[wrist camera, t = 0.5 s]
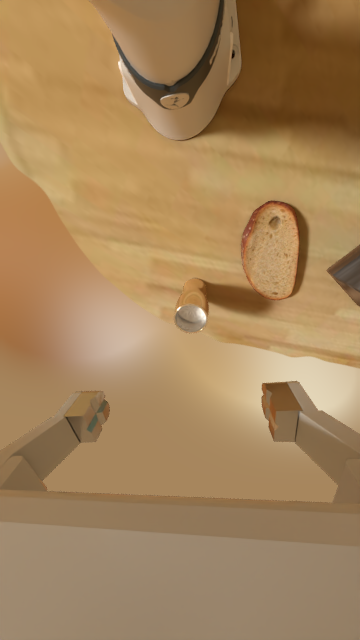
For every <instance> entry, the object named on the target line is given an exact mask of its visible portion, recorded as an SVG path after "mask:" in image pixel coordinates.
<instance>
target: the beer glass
mask: <svg viewBox="0 0 360 640" xmlns="http://www.w3.org/2000/svg"><path fill="white" fill-rule="evenodd" d="M206 292H207V288H206V285H205V283H204V282H203V281H202V280H200V279H195V278H194V279H190V280H188V281H187V282H186V283H185V284H184V286H183V293H182V294H181V296H180V297H179V299H178V301H177V303H176V307H175V313H174V322H175V325H176V326H177V327H178V328H179V329H180V330H181V331H183V332H186V333H197V332H200V331H201V330H203V329H204V328H205V327H206V325H207V322H208V315H209V304H208V301H207V298H206V296H205V295H206Z"/></svg>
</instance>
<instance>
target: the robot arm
mask: <svg viewBox="0 0 360 640" xmlns="http://www.w3.org/2000/svg"><path fill="white" fill-rule="evenodd" d="M89 1H90V2H91V3H92V4H93V6H94V7H95V8H96V9H97V11H98V12H99V14H100V15H101V17H102V18H103V20H104V21H105V23H106V24H107V26H108V28H109V29H110V31H111V32H112V35H113V38H114V41H115V44H116V47H117V50H118V52H119V55H120V61H119V63H118V64H119V69H120V71H121V74H122V76H123V89H124V94H125V96H126V98H127V99H128V101H129V102H130V103H132V104H133V105H134V106H136V107H137V108H139V109H140V110H141V111H142V112H143V113H144V115H145V116H146V118H147V119H148V121H149V122H150V124H151V125H152V126H153V127H154V128H155V129H156V130H157V131H158V132H159V133H160V134H162V135H163V136H165V137H167V138H170V139H173V140H185V139H189V138H191V137H193V136H195V135H197V134H198V133H200V132H201V131H202V130H203V129H204V128H205V127H206V126H207V125H208V124H209V123H210V121H211V120H212V118H213V117H214V115H215V113H216V111H217V109H218V107H219V105H220V102H221V100H222V98H223V96H224V94H225V92H226V91H227V90H228V89H229V88H230V87H231V85H232V84H233V83H234V82H235V81H236V79H237V78H238V76H239V74H240V71H241V63H242V61H241V50H240V39H239V29H238V19H237V8H236V0H89ZM232 53H234V55H235V57H234V58H233V59H231V58H232ZM262 391H263V394H264V395H263V396H262V408H263V412H264V415H265V418H266V419H267V420H268V421H269V429H270V432H271V435H272V437H273V440H274V441H277V442H278V441H279V442H295V443H296V444H297V445H298V446H299V447H300V448H301V449H302V450H303V451H304V452H305V453H306V454H307V455H308V456H309V457H310V458H311V459H312V460H313V461H314V462H315V463H316V464H317V465H318V466H319V467H320V468H321V469H322V470H323V471H324V472H325V473H326V474H327V475H328V476H329V477H330V478H331V479H332V480H333V481H334V482H335V483H337V485H338V488H337V492H336V494H335V497H334V500H333V503H327V502H302V501H277V500H251V499H227V498H226V499H225V498H204V497H202V498H201V497H179V496H153V495H130V494H129V495H128V494H104V493H103V494H102V493H79V492H54V491H47V487H46V486H45V484H44V483H43V482H42V481H43V480H44V479H45V478H46V477H47V476H48V475H49V474H50V473H51V472H52V471H53V470H54V469H55V468H56V467H57V466H58V465H59V464H60V463H61V462H62V461H63V460H64V459H65V458H66V457H67V456H68V455H69V454H70V453H71V452H72V451H73V450H74V449H75V448H76V447H77V446H78V445H79V444H80V443H82V442H96V441H97V439H98V437H99V435H100V432H101V431H102V426H101V425H102V424H104V423H105V422H106V421H107V418H108V417H109V412H110V409H109V408H110V407H109V404H108V402H107V401H106V400H104V398H105V394H104V392H103V391H79V392H74V393H72V395H71V396H70V397H69V399H68V400H67V401H66V402H65V403H64V405H63V406H62V407H61V409H60V410H59V411H58V412H57V414H56V415H55V416H54V417H51V418H49V419H47V420H46V421H44V422H43V423H41V424H40V425H38V426H37V427H35V428H34V429H32V430H31V431H29V432H28V433H26V434H25V435H23V436H22V437H20V438H19V439H17V440H16V441H14V442H13V443H11V444H9V445H8V446H6V447H5V448H3V449H2V450H0V640H360V434H359V433H357V432H356V431H354V430H352V429H351V428H349V427H348V426H346V425H344V424H343V423H341V422H340V421H338V420H336V419H335V418H333V417H332V416H330V415H328V414H327V413H325V412H323V411H318V409H317V408H316V407H315V405H314V404H313V402H312V401H311V399H310V398H309V396H308V395H307V393H306V392H305V391H304V389H303V388H302V386H301V385H300V383H299V382H297V381H291V382H275V383H263V384H262Z"/></svg>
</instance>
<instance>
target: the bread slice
mask: <svg viewBox="0 0 360 640" xmlns="http://www.w3.org/2000/svg"><path fill="white" fill-rule="evenodd" d="M299 243H300V237H299V228H298V221H297V216H296V213H295V211H294V209H293V208H292V207H291V206H290V205H288V204H286V203H284V202H279V201H268V202H266V203H265V204H263V205H262V206H260V207H259V208H257V209H256V210H255V211H254V212H253V214H252V216H251V218H250V220H249V222H248V224H247V226H246V228H245V230H244V232H243V236H242V243H241V256H242V266H243V269H244V272H245V274H246V277H247V279H248V281H249V283H250V284H251V286H252V287H253V288H254V290H255V291H257V292H258V293H259V294H260V295H262V296H263V297H265V298H268V299H272V300H281V299H285V298H287V297H288V296H290V294H291V293H292V291H293V288H294V284H295V282H296V275H297V265H298V258H299Z"/></svg>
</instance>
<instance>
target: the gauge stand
mask: <svg viewBox="0 0 360 640" xmlns="http://www.w3.org/2000/svg"><path fill="white" fill-rule="evenodd" d="M327 272H328V273H329V274H330V275H331V276H332V277H333V278H334V279H335V281H336V282H337V283H338V284H339V285H340V286H341V287H342V288H343V289H344V291H345V292H346V293H347V294H348V295H349V296H350V297H351V298H352V300H353V301H354V302H355V303H356V304H357V305H358V306H360V245H359V246H357V247H356V248H355V249H353V250H352V251H351V252H350V253H348V254H347V255H346V256H344V257H343V258H342V259H340V260H339V261H338V262H336V263H335V264H334V265H332V266H331V267H330V268H328V269H327Z"/></svg>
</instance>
